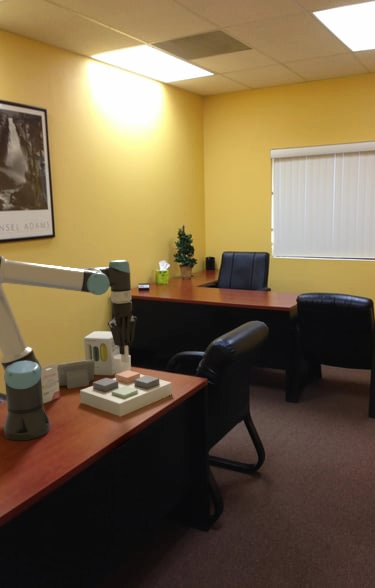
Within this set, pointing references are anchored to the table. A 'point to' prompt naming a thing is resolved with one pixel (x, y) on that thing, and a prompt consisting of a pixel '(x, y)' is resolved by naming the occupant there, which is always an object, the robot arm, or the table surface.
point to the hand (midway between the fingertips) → (125, 361)
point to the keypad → (126, 405)
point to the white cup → (120, 364)
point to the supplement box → (101, 351)
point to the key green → (124, 392)
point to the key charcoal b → (146, 382)
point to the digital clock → (76, 373)
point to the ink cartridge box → (50, 383)
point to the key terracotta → (127, 376)
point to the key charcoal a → (105, 385)
